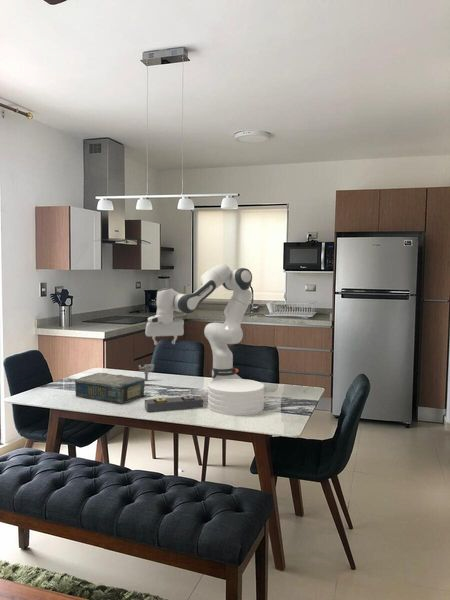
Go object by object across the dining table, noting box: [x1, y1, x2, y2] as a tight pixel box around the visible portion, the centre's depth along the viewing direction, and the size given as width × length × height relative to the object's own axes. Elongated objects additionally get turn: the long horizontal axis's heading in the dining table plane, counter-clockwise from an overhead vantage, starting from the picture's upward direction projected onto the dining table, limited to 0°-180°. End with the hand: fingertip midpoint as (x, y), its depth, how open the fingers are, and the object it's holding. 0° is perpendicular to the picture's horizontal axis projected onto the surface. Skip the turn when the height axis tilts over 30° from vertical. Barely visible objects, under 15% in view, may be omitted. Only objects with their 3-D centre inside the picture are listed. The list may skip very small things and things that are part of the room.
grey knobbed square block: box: [181, 395, 193, 401], centre depth 245 cm, size 4×4×5 cm
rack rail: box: [144, 395, 204, 413], centre depth 243 cm, size 28×8×4 cm, turn 109°
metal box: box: [74, 372, 146, 405], centre depth 263 cm, size 21×32×10 cm, turn 63°
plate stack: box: [207, 378, 265, 416], centre depth 245 cm, size 28×28×12 cm
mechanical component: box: [137, 363, 156, 382], centre depth 300 cm, size 3×10×10 cm, turn 107°
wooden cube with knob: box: [154, 397, 166, 403], centre depth 240 cm, size 4×4×5 cm
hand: (164, 344), depth 258 cm, fingers open, 8 cm apart
